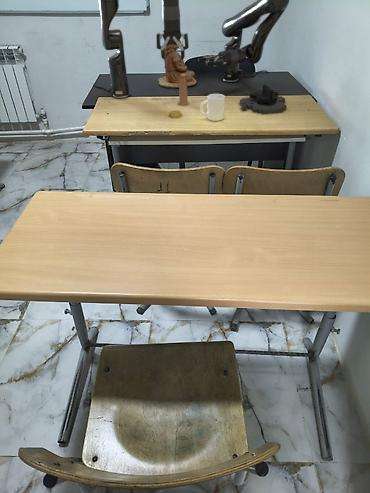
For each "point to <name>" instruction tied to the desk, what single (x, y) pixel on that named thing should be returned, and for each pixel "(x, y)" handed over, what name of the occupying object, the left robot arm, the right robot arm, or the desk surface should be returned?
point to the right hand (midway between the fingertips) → (202, 62)
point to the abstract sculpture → (264, 101)
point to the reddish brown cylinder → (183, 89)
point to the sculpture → (175, 68)
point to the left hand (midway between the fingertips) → (173, 59)
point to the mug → (214, 107)
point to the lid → (175, 113)
